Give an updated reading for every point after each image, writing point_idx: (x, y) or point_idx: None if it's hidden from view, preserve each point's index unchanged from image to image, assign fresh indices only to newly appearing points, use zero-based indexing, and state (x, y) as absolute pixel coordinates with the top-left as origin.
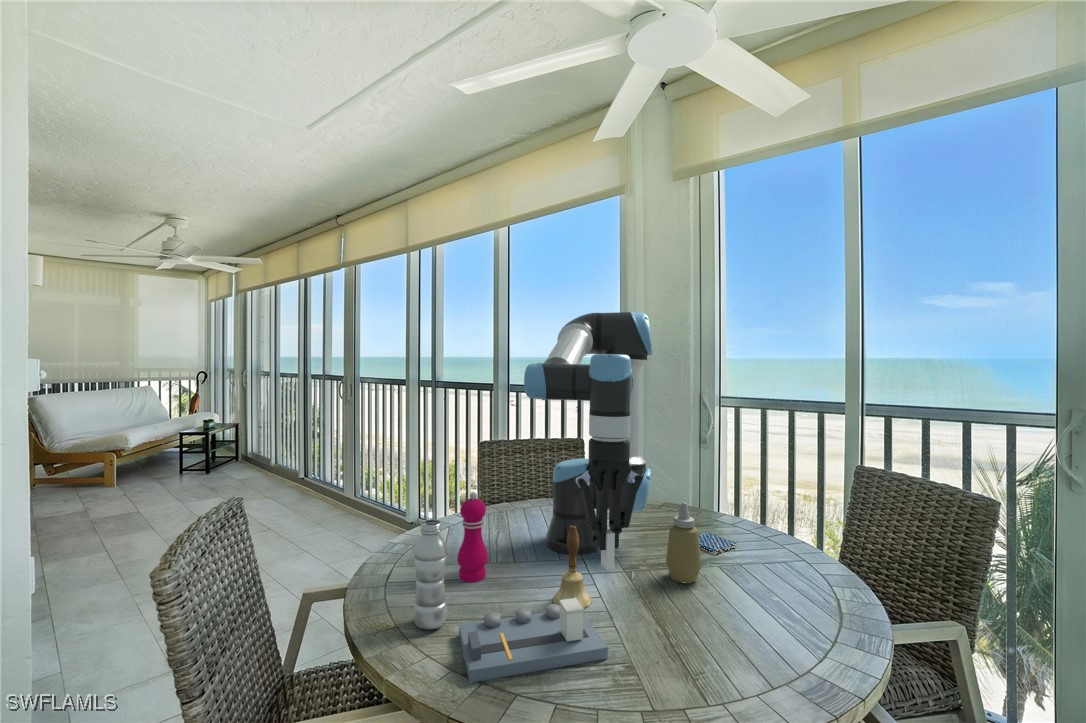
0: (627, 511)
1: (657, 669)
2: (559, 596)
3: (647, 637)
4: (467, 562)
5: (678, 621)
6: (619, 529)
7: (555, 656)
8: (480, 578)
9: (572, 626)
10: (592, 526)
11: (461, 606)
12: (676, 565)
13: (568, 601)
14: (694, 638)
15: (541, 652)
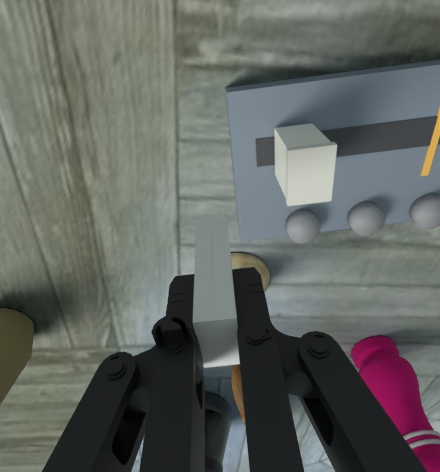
0: (85, 460)
1: (123, 26)
2: (262, 282)
3: (119, 152)
4: (404, 364)
5: (41, 197)
6: (164, 338)
7: (354, 75)
8: (366, 341)
9: (308, 134)
10: (338, 351)
11: (424, 279)
12: (9, 337)
13: (312, 192)
14: (13, 134)
15: (377, 95)
